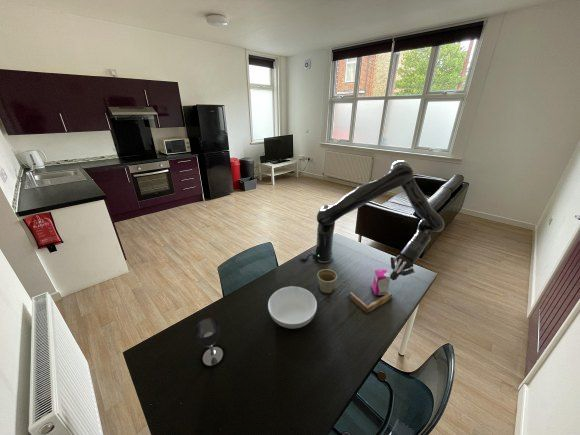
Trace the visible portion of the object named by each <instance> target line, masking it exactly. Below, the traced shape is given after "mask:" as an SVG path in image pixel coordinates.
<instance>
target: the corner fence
mask: <svg viewBox="0 0 580 435" xmlns="http://www.w3.org/2000/svg"><path fill="white" fill-rule="evenodd" d="M392 297H393V293H392V292H389V293H387V295H385V296H381V297H380V298H378V299H376V300H375V301H373V302H371V303H370V304H366V302H365V301H363V300H361V298H360V297H358V296H357V295H356V294H354V293H353V292H350V293H349V298H348V299H350V300H351V301H352V302H353V303H354V304H355V305H357V307H359V309H361V310H362V311H363V312H364V313H366V314H368V313H370V312H371V311H374V310H375V309H377V308H378V307H380V306H382V305H383V304H385V303H387V302H388V301H390V300H391V299H392Z"/></svg>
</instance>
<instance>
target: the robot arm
mask: <svg viewBox="0 0 580 435" xmlns="http://www.w3.org/2000/svg"><path fill="white" fill-rule="evenodd" d="M399 187H401V189H402V190H403V192H404V193H405V196H406V197H407V199H408V201H409V203H410V205H411V207H412V209H413V211H414V212H415V214H416V215H417V216H418V217H419V218H420V219H421V220H420V221H419V223H418V226H417V228H416V231H415V233H414V234H413V236H412V237H411V239H410V240H409V241H408V242H407V243H406V245H405V246H404V247H403V249H402V250H401V252H399V255H397V256H396V257H393V256H391V257H390V268H391V270H392V272H391V274H389V275H390V280H392V281H396V280H397V279H398V278H399V277H400V276H403V277H404V276H408V275H411V274H415V273H416V270H415V269H414V264H415V263H416V262H417V260H418V259H419V257H420V256H422V253H423V252H424V250H425V248H426V247H427V245H428V244H429V243H430V242H431V236H430V235H429V234H428V233H429V231H430V232H435V233H439V232H442V231H443V230H444V228H445V221H444V219H443V218H442V216H441V215H440V214H439V213H438V212H437V211H436V210H435V209H434V208H433V207H432V205H431V204H430V202H429V201H428V199H427V197H426V195H425V194H424V193H423V191H422V190H421V189H420V187H419V186H418V184H417V182H416V180H415V178H414V170H413V168H412V166H411V165H410V163H409V162H407V161H405V160H397V161H394V162H393V163H392V164H391V165H390V168H389V172H388V173H386V174H384V175H383V176H382V177H381V178H378V179H376V180H373V181H369V182H366V183H363V184H360V185H359V186H358V187H357V186H356V188H353V189H352V190H351V191H349V192H347V193H346V194H345V195H344V196H343V197H342V198H341V199H340V200H339V201H338V202H336V203H335V204H333V205H329V204H325V205H322V206H321V207H320V208H319V210H318V212H317V215H316V221H317V223H318V224H317V228H316V244H315V249H312V253H310V254H308V255H307V257H306V258H301V259H300V260H301V261H307V260H308V259H309V257H310V256H312V260H315V261H316V262H318V263H321V264H328V263H330V262H332V256H333V245H334V244H333V242H334V232H335V226H336V225H335V224H336V221H337V220H339V219H340V218H342V217H343V216H345V215H348V214H350V213H351V212H354V211H355V210H357V209H359V208H362V207H363V206H365V205H367V204H368V203H370V202H372V201H373V200H376V199H377V198H379V197H380V196H383V195H384V194H386V193H387V192H390V191H393V190H394V189H396V188H399Z"/></svg>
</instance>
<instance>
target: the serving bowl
mask: <svg viewBox="0 0 580 435" xmlns="http://www.w3.org/2000/svg"><path fill="white" fill-rule="evenodd" d="M317 309H318V302H317V298H316V297H315V295H314V294H313V293H312V292H311V291H310V290H307V289H306V288H304V287H302V286H301V287H300V286H295V285H294V286H293V285H291V286H285V287H282V288H279V289H278V290H275V291H274V292H273V293H272V294H271V296H270V297H269V299H268V301H267V310H268V313H269V315H270V317H271V319H272V320H273V321H274V323H276V324H277V325H278V326H280V327H283V328H285V329H292V330H293V329H300V328H302V327H305V326H307V325H308V324H309V323H310V322H311V321H312V320H313V319H314V317H315V316H316V313H317Z"/></svg>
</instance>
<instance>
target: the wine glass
mask: <svg viewBox="0 0 580 435" xmlns="http://www.w3.org/2000/svg"><path fill="white" fill-rule="evenodd" d="M193 331H194V336H195V339H196V340H197V342H198V344H199V345H200V346H201V347H205V348H209V349H207V350H206V351H205V352H204V354H203V356H202V362H203V364H204V365H206V366H209V367H211V366H215V365H217V364H218V363H220V361H221V360H222V359H223V356H224V351H223V350H222V348H221V347H218V346H214V345H215V344H216V343H217V342H218V341H219V338H220V335H221V334H220V332H221V331H220V324H219V321H218V319H217V318H214V317H206V318H203V319H201V320H199V321H198V322H197V323H196V324H195V327H194V330H193Z"/></svg>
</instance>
